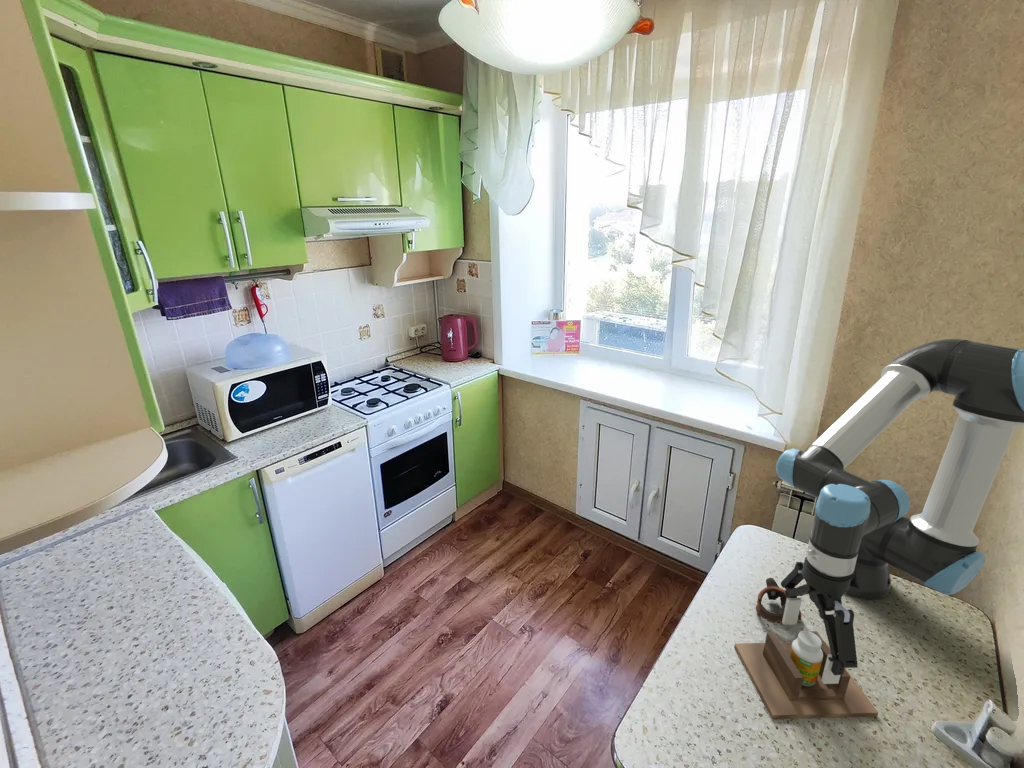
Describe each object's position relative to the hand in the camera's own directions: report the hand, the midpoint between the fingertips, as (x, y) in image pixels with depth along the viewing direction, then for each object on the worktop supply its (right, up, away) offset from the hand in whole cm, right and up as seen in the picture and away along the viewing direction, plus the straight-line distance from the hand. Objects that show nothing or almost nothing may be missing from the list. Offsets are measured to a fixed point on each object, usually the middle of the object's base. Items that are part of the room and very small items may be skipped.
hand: (808, 650), depth 96 cm
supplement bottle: (0, -6, +2) cm, 7 cm away
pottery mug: (+4, -2, +19) cm, 19 cm away
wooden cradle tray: (0, -7, +2) cm, 8 cm away
